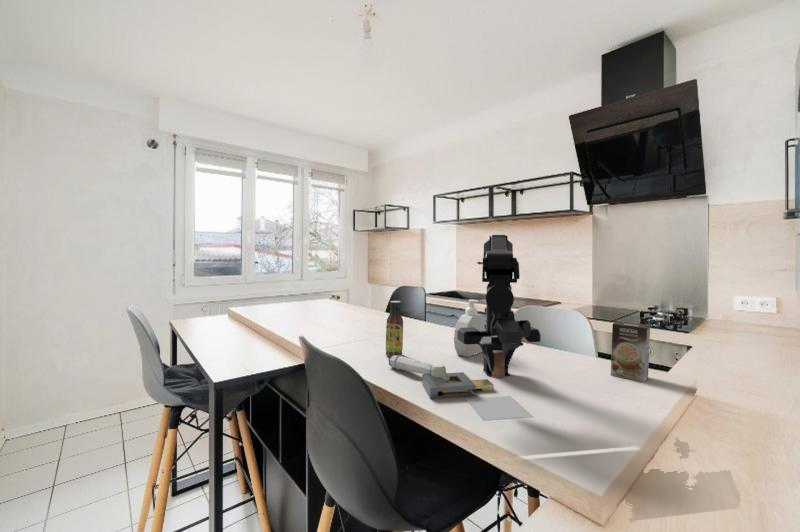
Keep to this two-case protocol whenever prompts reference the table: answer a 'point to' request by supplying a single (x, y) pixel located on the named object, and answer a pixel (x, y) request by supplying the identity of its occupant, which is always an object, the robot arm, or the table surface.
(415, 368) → the white long cylinder
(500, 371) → the walnut peg
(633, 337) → the coffee box
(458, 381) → the grey block with slider
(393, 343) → the sauce bottle
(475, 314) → the soap bottle
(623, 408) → the table surface
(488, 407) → the grey mat
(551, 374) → the table surface
